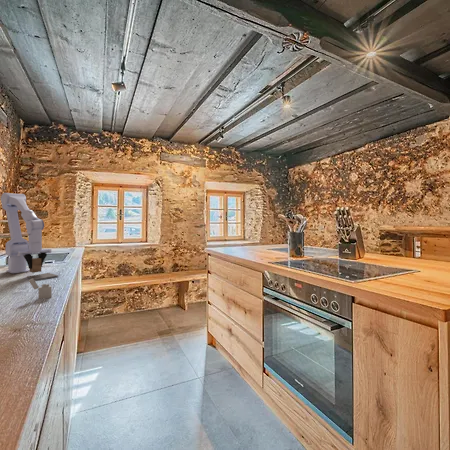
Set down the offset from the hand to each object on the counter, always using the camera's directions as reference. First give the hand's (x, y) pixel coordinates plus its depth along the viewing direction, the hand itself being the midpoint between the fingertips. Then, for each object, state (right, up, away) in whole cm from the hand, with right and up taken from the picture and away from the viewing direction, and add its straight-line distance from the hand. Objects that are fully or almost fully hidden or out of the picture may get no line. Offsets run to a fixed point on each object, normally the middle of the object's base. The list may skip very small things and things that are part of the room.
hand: (35, 267), depth 138 cm
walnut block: (0, -2, 0) cm, 2 cm away
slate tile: (+7, -4, -5) cm, 9 cm away
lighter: (+29, -6, -37) cm, 48 cm away
